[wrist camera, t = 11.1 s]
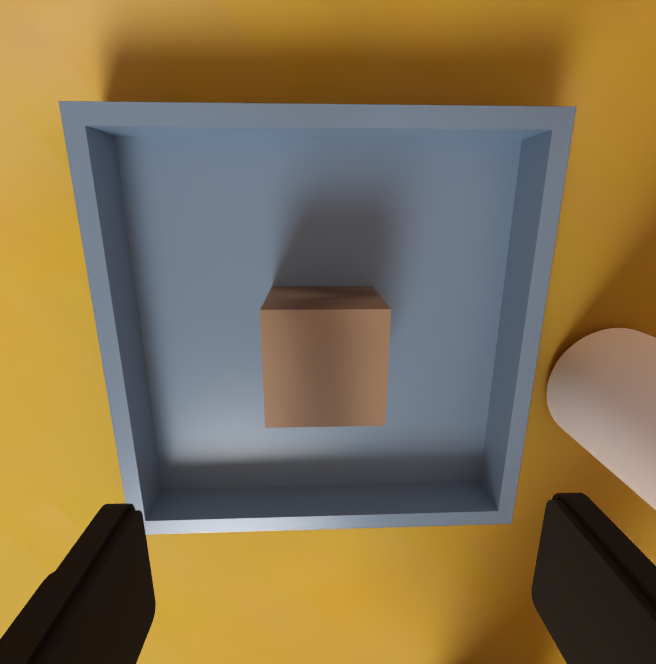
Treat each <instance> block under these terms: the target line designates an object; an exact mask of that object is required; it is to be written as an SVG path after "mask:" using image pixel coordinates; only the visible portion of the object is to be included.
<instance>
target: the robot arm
mask: <svg viewBox="0 0 656 664" xmlns="http://www.w3.org/2000/svg"><path fill="white" fill-rule="evenodd" d="M532 599H533V603H534V605H535V608H536V610H537V612H538V613H539V615H540V617H541V619H542V620H543V622H544V624H545V626H546V627H547V629H548V631H549V633H550V634H551V636H552V638H553V640H554V642H555V643H556V645H557V647H558V649H559V650H560V652H561V654H562V656H563V657H564V659H565V661H566V663H567V664H656V566H655V565H654V564H653V563H652V562H651V561H650V560H649V559H648V558H647V557H646V556H645V555H644V554H643V553H642V552H641V551H640V550H639V549H638V548H637V547H636V546H635V545H634V544H633V543H632V541H631V540H630V539H629V538H628V537H627V536H626V535H625V534H624V533H623V532H622V531H621V530H620V529H619V528H618V527H617V526H616V525H615V524H614V523H613V522H612V521H611V520H610V519H609V518H608V517H607V516H606V515H605V514H604V513H603V512H602V511H601V510H600V509H599V508H598V507H597V506H596V505H595V504H594V503H593V502H592V501H591V500H590V499H589V498H588V497H587V496H586V495H585V494H583V493H557V494H555V495H554V496H553V499H552V500H549V501H548V502H547V504H546V509H545V514H544V520H543V526H542V532H541V538H540V544H539V550H538V555H537V561H536V567H535V573H534V579H533V585H532ZM155 605H156V604H155V595H154V589H153V582H152V575H151V568H150V561H149V554H148V548H147V541H146V534H145V527H144V520H143V514H142V512H141V511H140V510H135V507H134V505H133V504H131V503H129V504H106V505H103V507H102V508H101V509H100V510H99V511H98V513H97V514H96V516H95V517H94V518H93V520H92V521H91V523H90V524H89V525H88V527H87V528H86V529H85V531H84V532H83V534H82V535H81V536H80V538H79V539H78V540H77V542H76V543H75V545H74V546H73V547H72V549H71V550H70V552H69V553H68V554H67V556H66V557H65V558H64V560H63V561H62V563H61V564H60V565H59V567H58V568H57V569H56V571H55V572H53V573H51V574H50V575H49V576H48V577H47V578H46V579H45V580H44V581H43V582H42V584H41V585H40V586H39V588H38V589H37V590H36V592H35V593H34V594H33V596H32V597H31V598H30V600H29V601H28V603H27V604H26V605H25V607H24V608H23V609H22V611H21V612H20V613H19V615H18V616H17V617H16V619H15V620H14V622H13V623H12V624H11V626H10V627H9V628H8V630H7V631H6V632H5V634H4V635H3V636H2V638H1V639H0V664H136V662H137V660H138V657H139V655H140V652H141V649H142V647H143V644H144V642H145V639H146V637H147V634H148V632H149V629H150V627H151V624H152V621H153V618H154V614H155Z"/></svg>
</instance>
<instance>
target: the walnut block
mask: <svg viewBox="0 0 656 664" xmlns="http://www.w3.org/2000/svg"><path fill="white" fill-rule="evenodd" d="M260 323H261V346H262V369H263V392H264V415H265V428H287V427H349V426H385V424H386V404H387V384H388V364H389V344H390V324H391V308H390V307H389V306H388V305H387V303H386V302H385V301H384V300H383V298H382V297H381V296H380V295H379V294H378V292H377V291H376V290H375V289H374V287H373V286H272V287H271V289H270V291H269V293H268V295H267V297H266V299H265V301H264V303H263V305H262V307H261V309H260Z"/></svg>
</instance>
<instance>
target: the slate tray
mask: <svg viewBox="0 0 656 664" xmlns="http://www.w3.org/2000/svg"><path fill="white" fill-rule="evenodd" d="M59 106H60V112H61V118H62V124H63V130H64V136H65V142H66V148H67V154H68V160H69V166H70V172H71V178H72V184H73V190H74V196H75V202H76V208H77V214H78V220H79V226H80V232H81V238H82V244H83V250H84V256H85V262H86V268H87V274H88V280H89V286H90V292H91V298H92V304H93V310H94V316H95V322H96V328H97V334H98V340H99V346H100V352H101V358H102V364H103V370H104V376H105V382H106V388H107V394H108V400H109V406H110V412H111V418H112V424H113V430H114V436H115V442H116V448H117V454H118V460H119V466H120V472H121V478H122V484H123V490H124V496H125V502H126V504H129V503H131V504H133V505H134V507H135V510H140V511H141V512H142V514H143V520H144V527H145V534H146V535H147V534H181V533H215V532H248V531H282V530H316V529H349V528H383V527H417V526H450V525H484V524H512V518H513V512H514V506H515V499H516V493H517V486H518V480H519V473H520V467H521V460H522V454H523V448H524V441H525V435H526V428H527V422H528V415H529V409H530V402H531V396H532V390H533V383H534V377H535V370H536V364H537V357H538V351H539V344H540V338H541V331H542V325H543V319H544V312H545V306H546V299H547V293H548V286H549V280H550V273H551V267H552V261H553V254H554V248H555V241H556V235H557V228H558V222H559V215H560V209H561V203H562V196H563V190H564V183H565V177H566V170H567V164H568V157H569V151H570V144H571V138H572V132H573V125H574V119H575V112H576V107H567V106H473V105H378V104H283V103H189V102H94V101H59ZM272 286H373V287H374V289H375V290H376V291H377V292H378V294H379V295H380V296H381V297H382V298H383V300H384V301H385V302H386V303H387V305H388V306H389V307H390V308H391V324H390V344H389V364H388V384H387V404H386V424H385V426H349V427H287V428H265V415H264V392H263V369H262V346H261V323H260V309H261V307H262V305H263V303H264V301H265V299H266V297H267V295H268V293H269V291H270V289H271V287H272Z"/></svg>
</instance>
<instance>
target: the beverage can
mask: <svg viewBox="0 0 656 664" xmlns="http://www.w3.org/2000/svg"><path fill="white" fill-rule="evenodd" d="M547 405H548V408H549V411H550V414H551V416H552V418H553V419H554V421H555V422H556V423H557V424H558V426H559V427H561V428H562V429H563V430H564V431H565V432H566V433H567V434H568V435H570V436H571V437H572V438H573V439H574V440H575V441H577V442H578V443H579V444H580V445H581V446H582V447H583V448H585V449H586V450H587V451H588V452H589V453H590V454H591V455H593V456H594V457H595V458H596V459H597V460H598V461H600V462H601V463H602V464H603V465H604V466H605V467H606V468H608V469H609V470H610V471H611V472H612V473H613V474H614V475H616V476H617V477H618V478H619V479H620V480H621V481H623V482H624V483H625V484H626V485H627V486H628V487H629V488H631V489H632V490H633V491H634V492H635V493H636V494H638V495H639V496H640V497H641V498H642V499H643V500H644V501H646V502H647V503H648V504H649V505H650V506H651V507H652V508H654V509H655V510H656V337H653V336H650V335H648V334H645V333H642V332H639V331H636V330H633V329H628V328H610V329H605V330H600V331H597V332H594V333H592V334H590V335H587V336H585V337H584V338H582V339H580V340H579V341H577V342H576V343H574V344H573V345H572V346H571V347H570V348H568V349H567V350H566V351H565V352H564V354H563V355H562V356H561V357H560V358H559V360H558V361H557V363H556V364H555V366H554V368H553V370H552V372H551V374H550V377H549V380H548V385H547Z"/></svg>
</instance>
